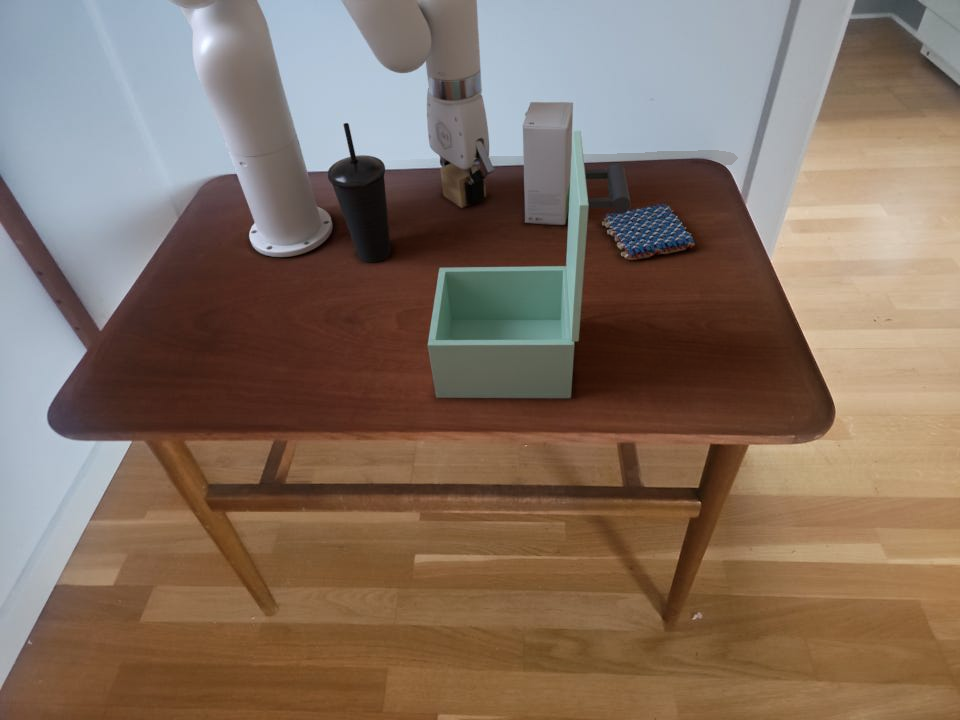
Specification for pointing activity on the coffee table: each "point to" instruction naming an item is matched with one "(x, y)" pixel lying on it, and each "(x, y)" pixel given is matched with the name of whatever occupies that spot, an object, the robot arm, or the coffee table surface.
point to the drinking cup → (363, 201)
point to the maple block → (456, 184)
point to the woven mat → (648, 232)
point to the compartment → (501, 333)
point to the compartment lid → (579, 219)
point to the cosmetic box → (547, 161)
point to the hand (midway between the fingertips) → (464, 193)
